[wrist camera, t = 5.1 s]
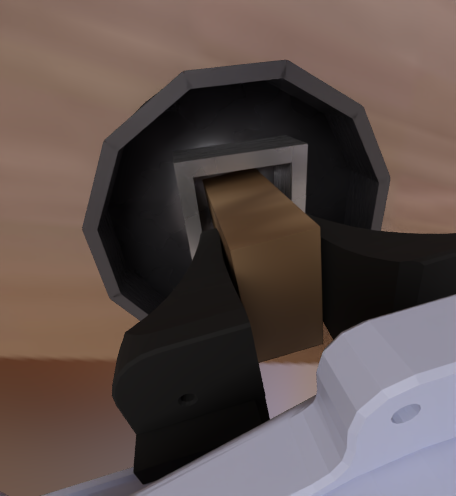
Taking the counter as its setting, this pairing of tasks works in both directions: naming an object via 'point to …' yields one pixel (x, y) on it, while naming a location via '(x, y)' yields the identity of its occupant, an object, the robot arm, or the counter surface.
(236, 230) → the wooden block
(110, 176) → the bowl
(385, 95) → the counter surface
